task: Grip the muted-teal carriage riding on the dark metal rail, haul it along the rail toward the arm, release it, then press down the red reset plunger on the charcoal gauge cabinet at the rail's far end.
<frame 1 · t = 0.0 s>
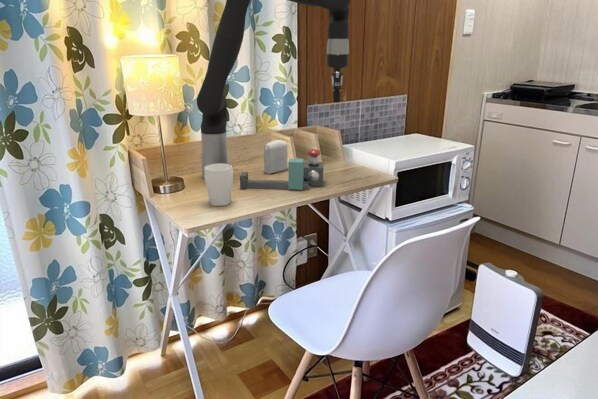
hand: (336, 100, 164), 29 cm above the table, fingers open, 8 cm apart
carriage: (296, 174, 162), point 5 cm above the table, slide at 9.5 cm
rail unit: (277, 188, 164), on the table
cup: (220, 203, 150), on the table
reset plunger: (313, 160, 166), point 9 cm above the table, slide at 0.0 cm
white rounded block: (276, 171, 184), on the table
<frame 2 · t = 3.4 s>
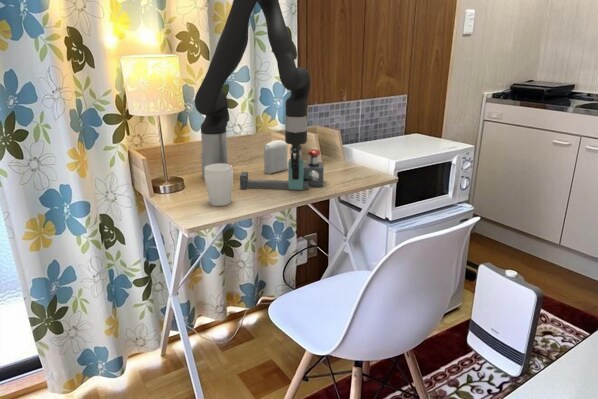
hand: (296, 176, 162), 4 cm above the table, fingers closed on carriage, 4 cm apart
carriage: (296, 174, 162), point 5 cm above the table, slide at 9.5 cm, touching gripper
everything else where it was.
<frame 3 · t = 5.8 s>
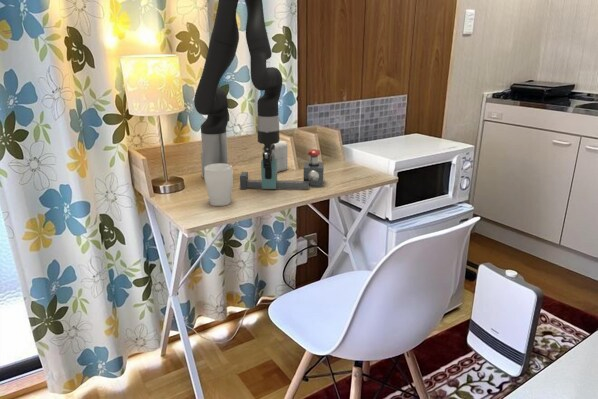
hand: (269, 176, 163), 4 cm above the table, fingers closed on carriage, 4 cm apart
carriage: (269, 173, 162), point 5 cm above the table, slide at 0.1 cm, touching gripper
everything else where it was.
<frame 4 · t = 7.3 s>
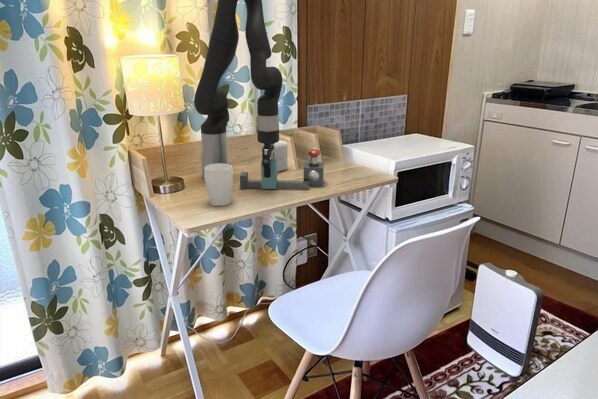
hand: (269, 173, 162), 5 cm above the table, fingers open, 8 cm apart
carriage: (269, 173, 162), point 5 cm above the table, slide at 0.1 cm
everything else where it was.
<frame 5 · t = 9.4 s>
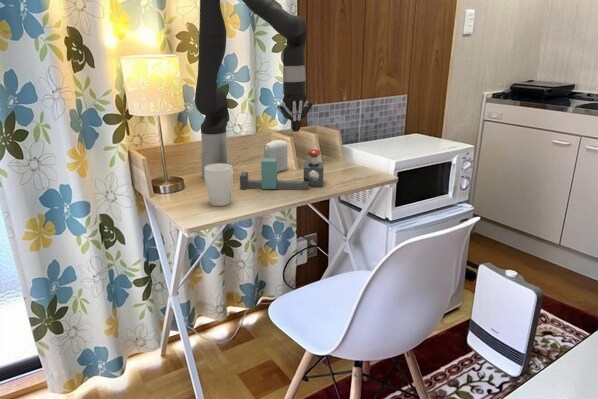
hand: (295, 131, 159), 20 cm above the table, fingers closed
nothing on the table moved.
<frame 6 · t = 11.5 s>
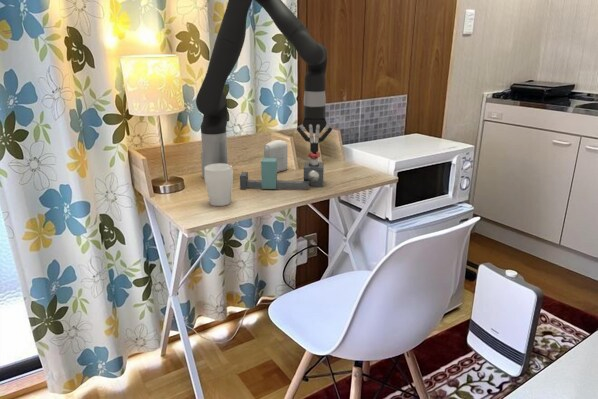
hand: (314, 152, 165), 11 cm above the table, fingers closed
reset plunger: (313, 162, 166), point 8 cm above the table, slide at -0.8 cm, touching gripper
everything else where it was.
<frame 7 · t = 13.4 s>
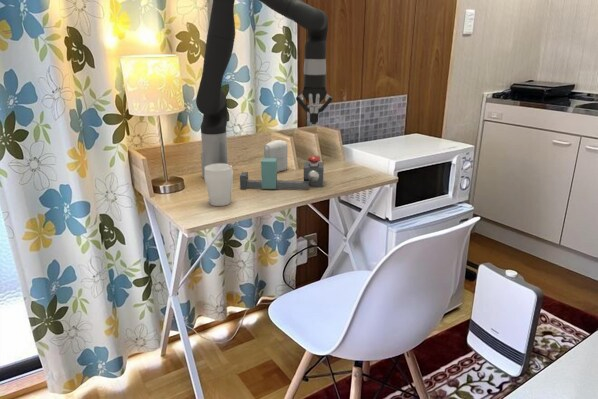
hand: (313, 123, 162), 22 cm above the table, fingers closed
reset plunger: (313, 166, 167), point 6 cm above the table, slide at -2.3 cm
everything else where it was.
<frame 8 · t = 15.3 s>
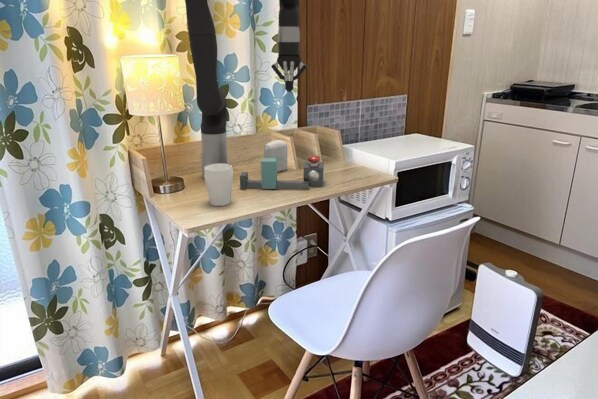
hand: (289, 91, 166), 32 cm above the table, fingers closed
nothing on the table moved.
at the end: carriage slide at 0.1 cm; reset plunger slide at -2.3 cm; the gripper is holding nothing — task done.
